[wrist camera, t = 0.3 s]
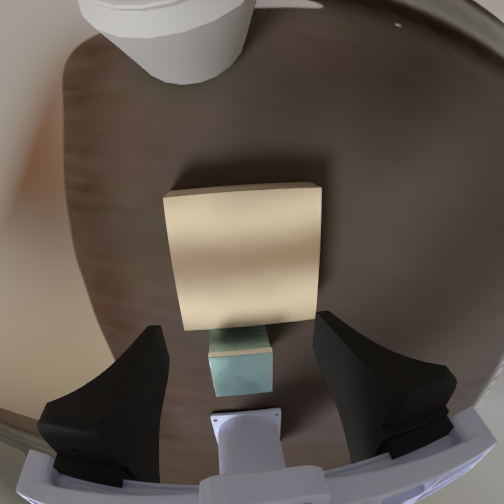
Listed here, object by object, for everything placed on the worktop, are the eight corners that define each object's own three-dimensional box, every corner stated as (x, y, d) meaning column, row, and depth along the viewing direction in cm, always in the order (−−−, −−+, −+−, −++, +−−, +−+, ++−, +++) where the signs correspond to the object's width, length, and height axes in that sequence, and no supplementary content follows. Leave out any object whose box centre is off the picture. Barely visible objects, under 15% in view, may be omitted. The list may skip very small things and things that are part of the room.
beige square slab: (305, 298, 24) (315, 318, 22) (188, 309, 24) (184, 330, 21) (308, 180, 21) (321, 187, 18) (171, 189, 20) (163, 197, 17)
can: (148, 1, 14) (94, -91, 2) (250, 2, 14) (280, -104, 3) (132, 88, 16) (36, 42, 5) (238, 90, 17) (264, 23, 6)
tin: (264, 352, 26) (272, 391, 21) (215, 356, 25) (216, 396, 21) (262, 313, 24) (272, 352, 19) (209, 317, 24) (208, 357, 19)
